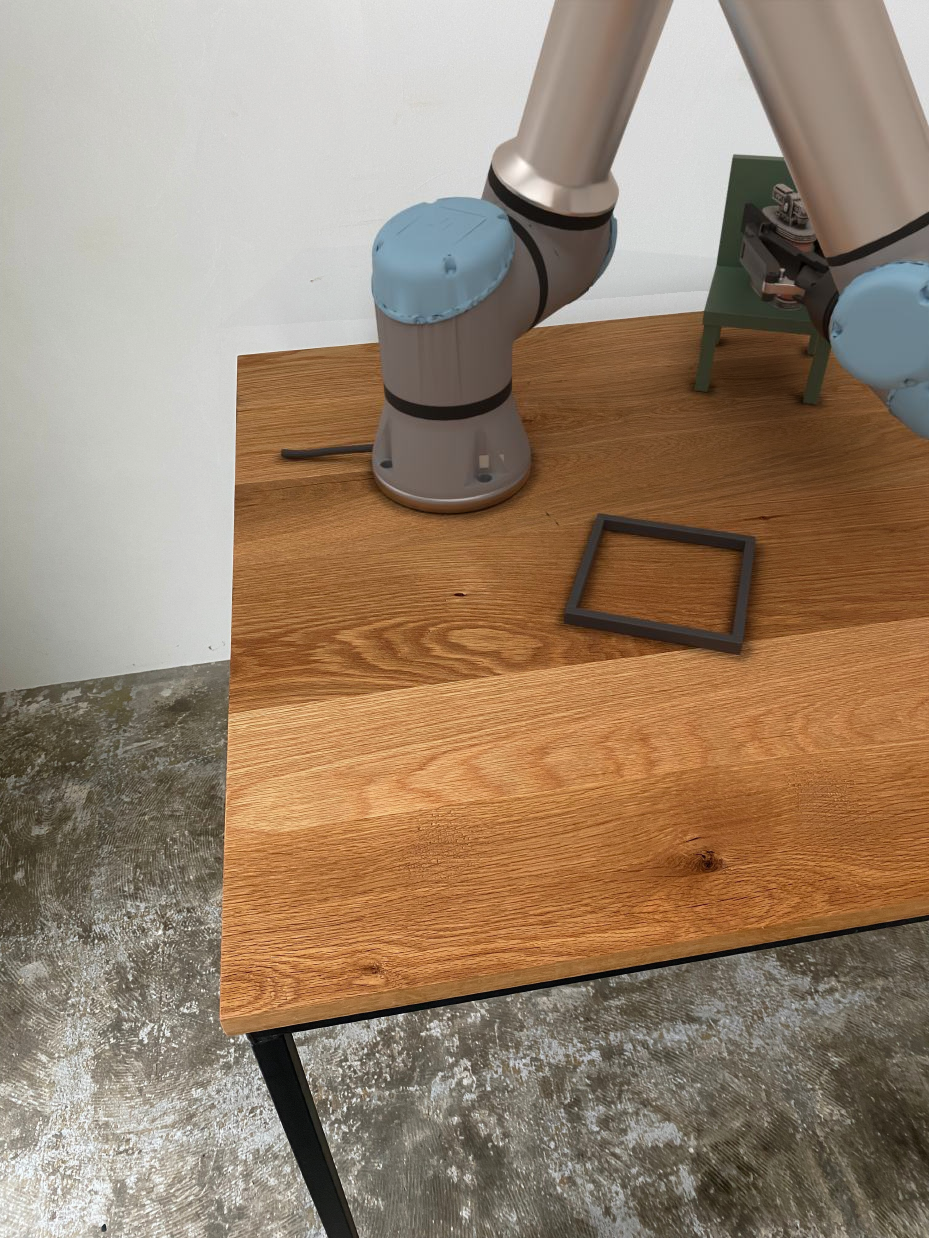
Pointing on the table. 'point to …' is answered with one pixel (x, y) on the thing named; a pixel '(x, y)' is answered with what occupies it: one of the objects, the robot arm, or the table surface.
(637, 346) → the table surface
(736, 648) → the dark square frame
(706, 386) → the chair
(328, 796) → the table surface
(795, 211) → the lighter
